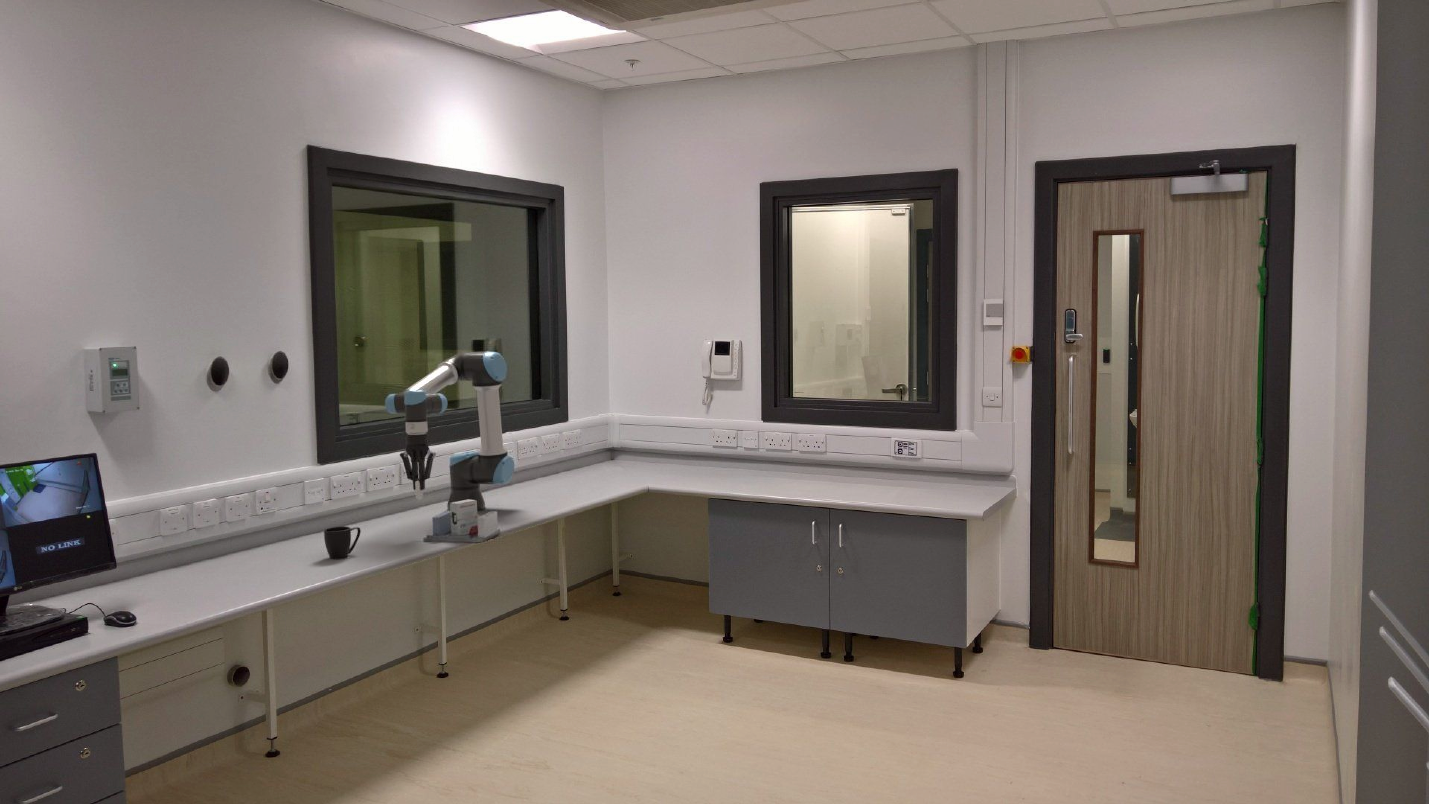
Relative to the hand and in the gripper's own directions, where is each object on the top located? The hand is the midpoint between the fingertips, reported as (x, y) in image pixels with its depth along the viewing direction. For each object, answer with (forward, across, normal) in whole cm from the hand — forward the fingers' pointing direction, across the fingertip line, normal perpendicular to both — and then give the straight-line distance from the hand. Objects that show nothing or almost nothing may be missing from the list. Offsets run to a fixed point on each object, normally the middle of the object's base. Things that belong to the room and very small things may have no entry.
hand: (419, 498), depth 359 cm
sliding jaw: (+12, +9, 0) cm, 15 cm away
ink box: (+13, +16, 0) cm, 21 cm away
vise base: (+14, +16, 0) cm, 21 cm away
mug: (+14, -12, -31) cm, 36 cm away
